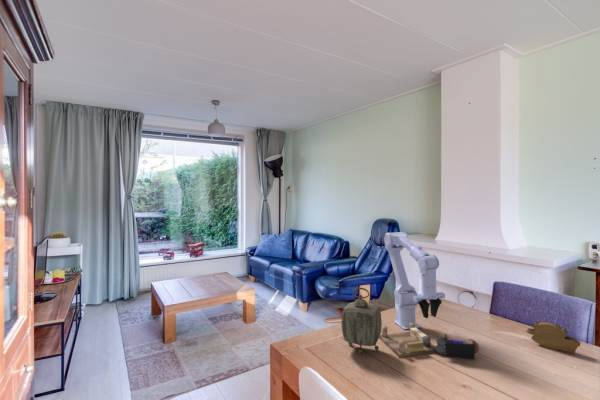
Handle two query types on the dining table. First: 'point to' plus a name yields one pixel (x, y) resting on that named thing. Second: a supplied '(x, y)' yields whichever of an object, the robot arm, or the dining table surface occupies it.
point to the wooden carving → (553, 337)
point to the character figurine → (457, 348)
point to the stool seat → (405, 343)
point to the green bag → (361, 322)
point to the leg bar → (420, 337)
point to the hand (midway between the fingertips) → (429, 316)
